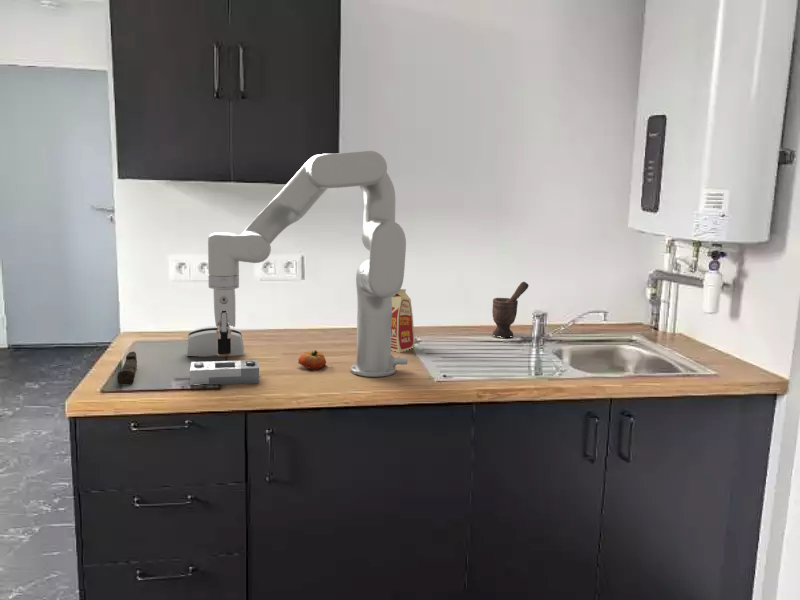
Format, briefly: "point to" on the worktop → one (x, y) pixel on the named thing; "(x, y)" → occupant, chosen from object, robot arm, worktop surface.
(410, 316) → the milk carton
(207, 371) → the grey latch plate
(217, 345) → the pin
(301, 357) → the tomato
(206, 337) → the grey toaster
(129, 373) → the dark brown rounded rod
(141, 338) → the worktop surface
